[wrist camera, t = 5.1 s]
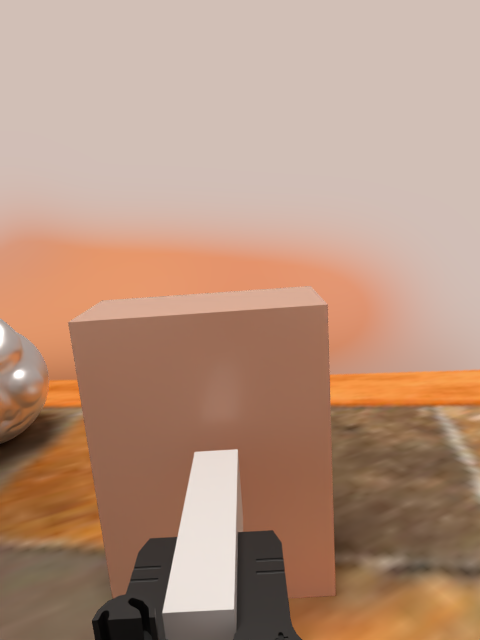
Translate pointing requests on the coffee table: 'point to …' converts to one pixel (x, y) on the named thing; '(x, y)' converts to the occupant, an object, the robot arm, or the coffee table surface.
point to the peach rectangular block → (211, 418)
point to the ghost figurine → (20, 383)
